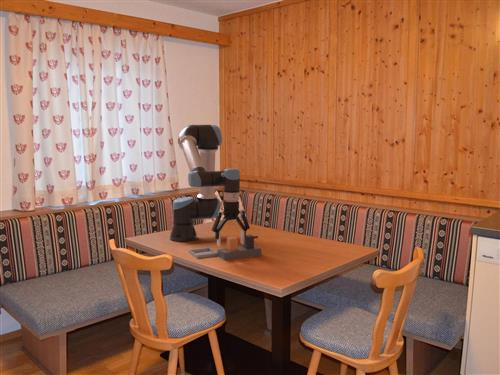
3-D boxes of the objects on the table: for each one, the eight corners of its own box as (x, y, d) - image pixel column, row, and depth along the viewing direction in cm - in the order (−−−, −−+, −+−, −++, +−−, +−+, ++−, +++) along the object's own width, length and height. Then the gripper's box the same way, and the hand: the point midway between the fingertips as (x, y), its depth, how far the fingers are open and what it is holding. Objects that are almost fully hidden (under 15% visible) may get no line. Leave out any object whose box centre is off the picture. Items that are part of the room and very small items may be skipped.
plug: (226, 257, 227) (226, 237, 225) (234, 256, 228) (234, 236, 227) (230, 259, 223) (230, 239, 222) (237, 258, 225) (237, 238, 224)
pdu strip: (217, 257, 227) (217, 237, 225) (253, 252, 236) (253, 233, 234) (224, 261, 220) (224, 240, 218) (261, 256, 229) (261, 236, 227)
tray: (188, 253, 232) (188, 249, 232) (209, 251, 237) (209, 247, 237) (196, 259, 222) (196, 255, 222) (218, 256, 227) (218, 252, 227)
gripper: (211, 203, 213) (210, 248, 216) (257, 200, 224) (256, 244, 227) (205, 200, 220) (204, 245, 222) (250, 198, 231) (249, 240, 233)
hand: (230, 244), depth 225 cm, fingers open, 12 cm apart
